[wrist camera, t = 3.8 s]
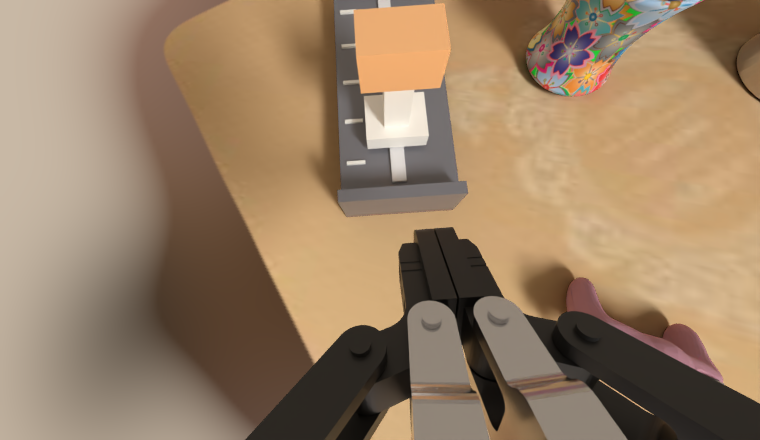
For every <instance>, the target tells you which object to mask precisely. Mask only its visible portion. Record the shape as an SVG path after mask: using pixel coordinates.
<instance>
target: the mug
mask: <svg viewBox="0 0 760 440" xmlns="http://www.w3.org/2000/svg"><path fill="white" fill-rule="evenodd" d="M702 1H703V0H566V2H565V4H564V6H563V7H562V9H561V10H560V12H559V13H558V14H557V16H556V17H555V18H554V19H553V20H552V22H551V23H550V24H549V25H547V26H546V27H545V28H543V29H542V30H540V31H539V32H538V33H537V34H536V35H534V37H533V38H532V39H531V41H530V42H529V44H528V47H527V51H526V63H527V67H528V70H529V72H530V74H531V75H532V77H533V78H534V79H535V81H536V82H537V83H538V84H540V85H541V86H542V87H543V88H545V89H547V90H548V91H550V92H553V93H555V94H558V95H563V96H582V95H586V94H589V93H591V92H593V91H595V90H597V89H598V88H600V87H601V86H602V85H603V84H604V83H605V82H606V80H607V79H608V77H609V76H610V73H611V70H612V68H613V66H614V64H615V63H616V61H617V60H618V58H619V57H620V56H621V55H622V54H623V53H624V51H625V50H626V49H627V48H628V47H629V46H631V45H632V44H633V43H634V42H635V41H636V40H637V39H639V38H640V37H641V36H642V35H644V34H645V33H647V32H648V31H649V30H651V29H652V28H654V27H655V26H657V25H658V24H660V23H661V22H663V21H665V20H666V19H668V18H670V17H672V16H673V15H675V14H677V13H679V12H681V11H683V10H685V9H687V8H689V7H691V6H693V5H696V4H698V3H700V2H702Z"/></svg>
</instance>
